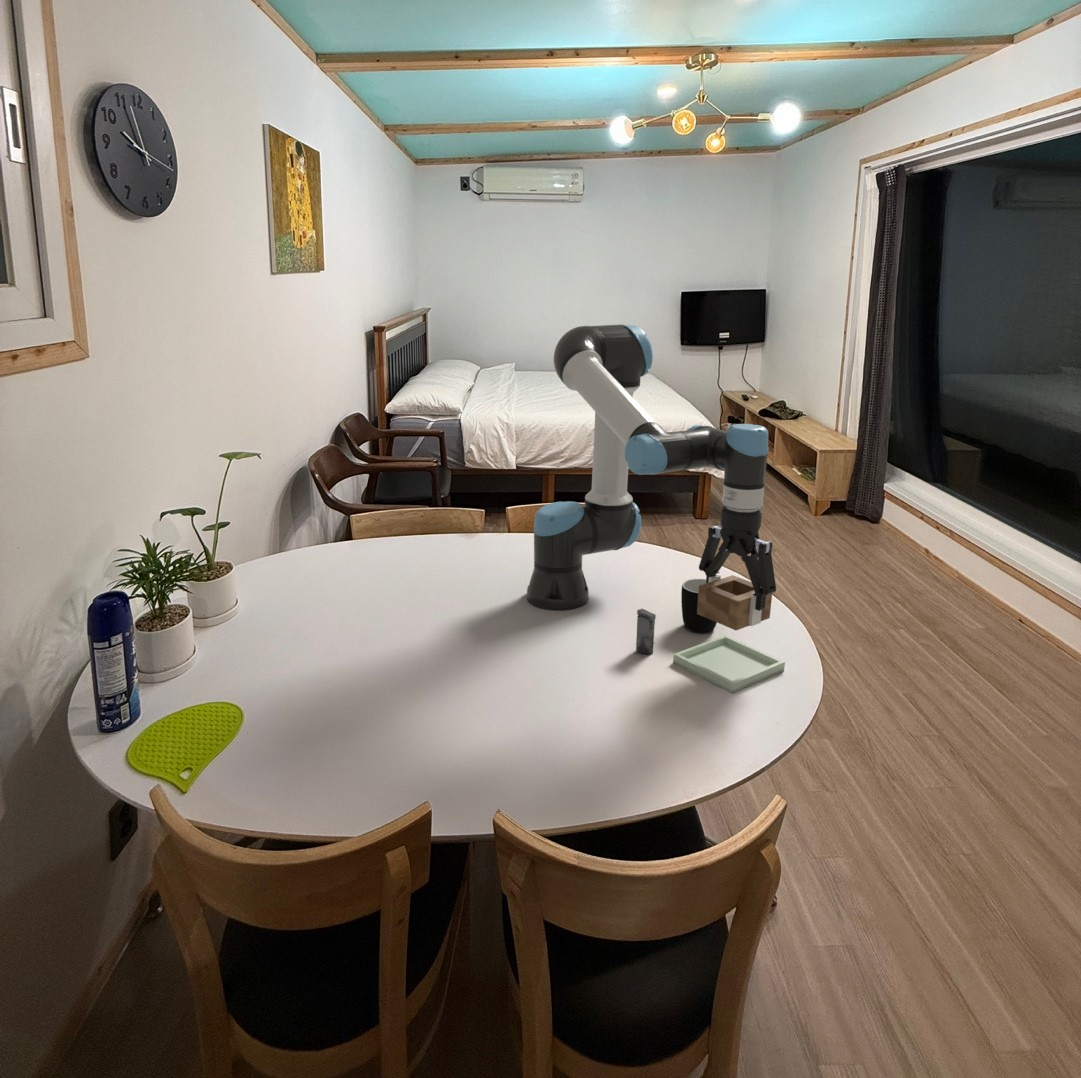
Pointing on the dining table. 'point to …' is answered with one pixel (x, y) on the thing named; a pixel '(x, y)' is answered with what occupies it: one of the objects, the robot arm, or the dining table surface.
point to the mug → (694, 608)
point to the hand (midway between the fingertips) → (732, 615)
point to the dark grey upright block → (645, 632)
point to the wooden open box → (729, 602)
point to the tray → (728, 663)
